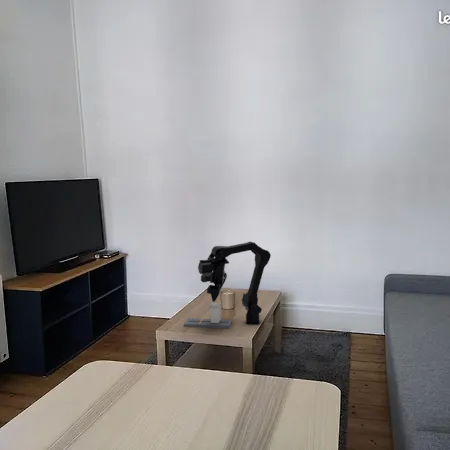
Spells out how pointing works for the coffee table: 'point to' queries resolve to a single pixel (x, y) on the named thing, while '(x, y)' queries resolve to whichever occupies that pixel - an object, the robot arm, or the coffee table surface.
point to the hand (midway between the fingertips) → (215, 296)
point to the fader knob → (215, 312)
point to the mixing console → (207, 323)
